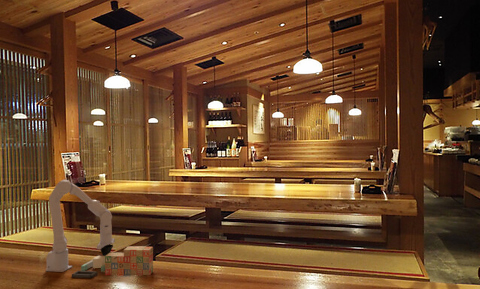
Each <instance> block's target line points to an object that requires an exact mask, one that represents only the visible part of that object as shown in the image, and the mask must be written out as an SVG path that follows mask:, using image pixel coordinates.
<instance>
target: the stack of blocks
mask: <svg viewBox="0 0 480 289" xmlns="http://www.w3.org/2000/svg"><path fill="white" fill-rule="evenodd" d="M153 259H154V247H153V246H145V245H141V246H138V245H137V246H134V245H133V246H126V248H124V249H123V252H110V253H109V254H107V255H106V256H105V272H104V274H105V276H114V275H115V276H121V277H122V276H123V277H124V276H125V277H126V276H129V277H131V276H132V277H133V276H134V277H135V275H138V276H139V275H150V276H151V275H152V273H153V272H154V260H153ZM138 276H137V277H138ZM139 277H140V276H139Z"/></svg>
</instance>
